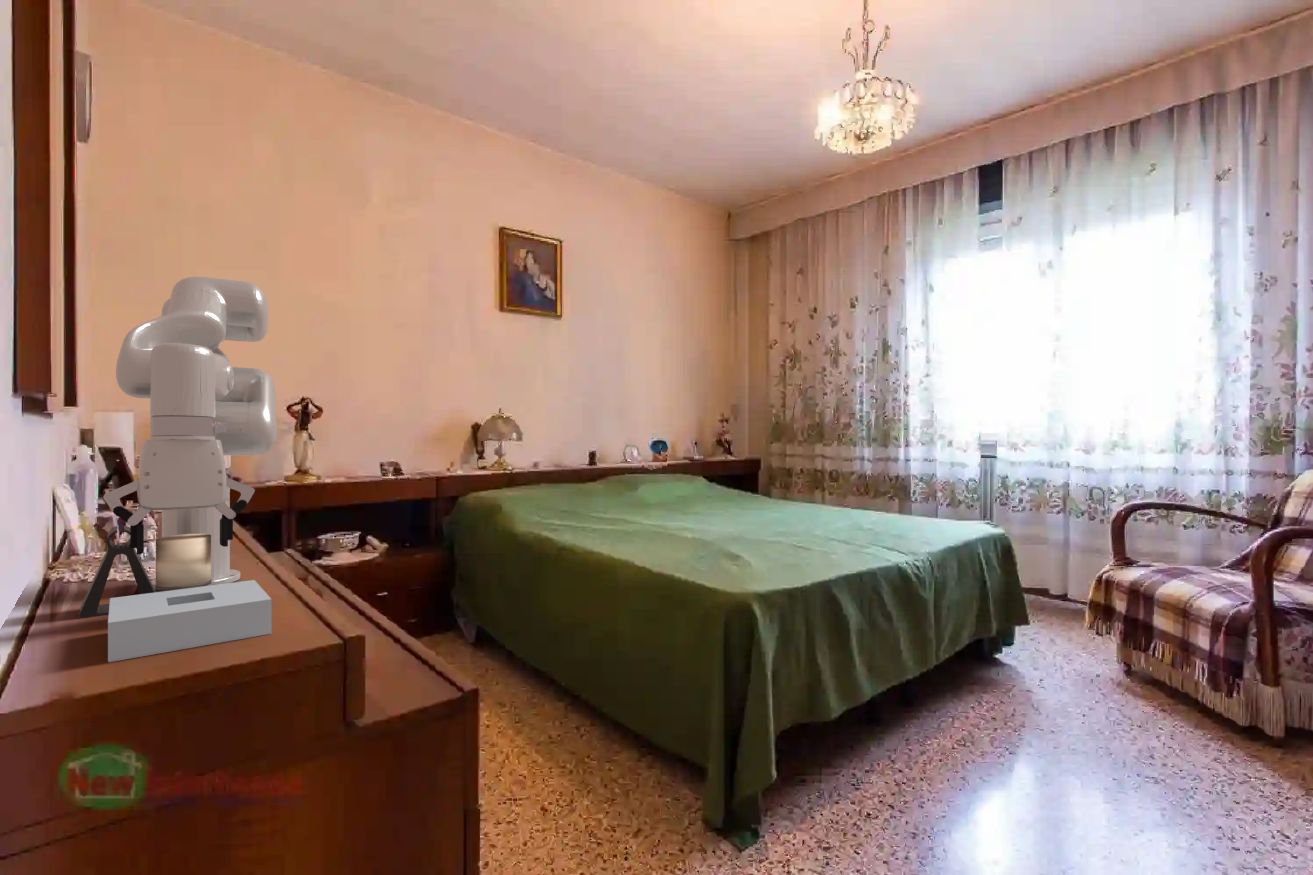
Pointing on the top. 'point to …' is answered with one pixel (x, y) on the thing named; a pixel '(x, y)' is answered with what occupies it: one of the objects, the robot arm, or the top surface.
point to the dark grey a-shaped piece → (96, 589)
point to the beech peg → (183, 561)
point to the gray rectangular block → (186, 619)
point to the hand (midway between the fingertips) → (183, 549)
